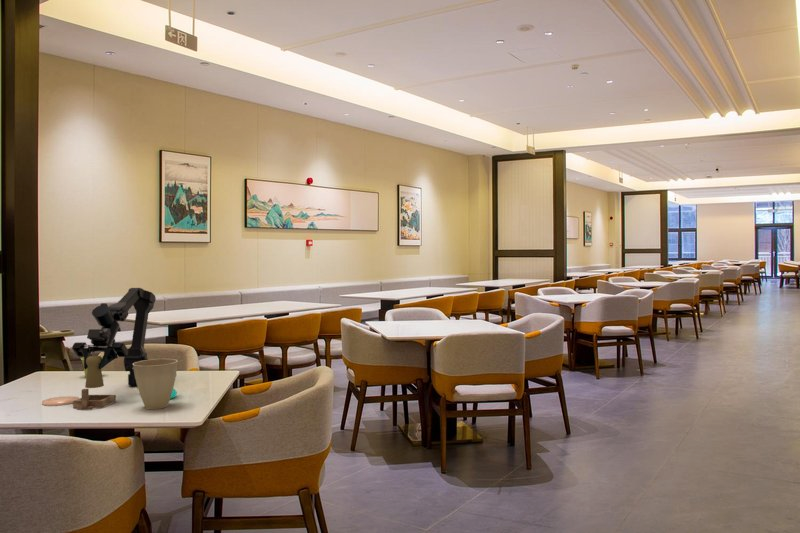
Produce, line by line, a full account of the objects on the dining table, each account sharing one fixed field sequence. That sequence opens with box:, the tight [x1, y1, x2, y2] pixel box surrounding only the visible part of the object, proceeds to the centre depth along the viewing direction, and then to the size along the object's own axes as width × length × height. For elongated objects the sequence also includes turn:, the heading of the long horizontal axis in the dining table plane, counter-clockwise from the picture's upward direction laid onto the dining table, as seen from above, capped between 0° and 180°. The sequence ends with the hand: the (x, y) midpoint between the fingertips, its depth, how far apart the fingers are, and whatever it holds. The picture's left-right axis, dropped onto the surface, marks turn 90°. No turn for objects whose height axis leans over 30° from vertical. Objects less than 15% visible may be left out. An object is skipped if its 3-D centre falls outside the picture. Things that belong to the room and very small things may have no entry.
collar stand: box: [72, 388, 117, 411], centre depth 224 cm, size 12×10×7 cm
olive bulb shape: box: [84, 355, 105, 389], centre depth 225 cm, size 6×6×11 cm
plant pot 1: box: [80, 355, 103, 378], centre depth 279 cm, size 9×9×9 cm
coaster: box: [41, 395, 80, 407], centre depth 230 cm, size 12×12×1 cm
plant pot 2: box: [133, 358, 179, 410], centre depth 222 cm, size 15×15×16 cm
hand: (92, 368), depth 224 cm, fingers closed on olive bulb shape, 5 cm apart
